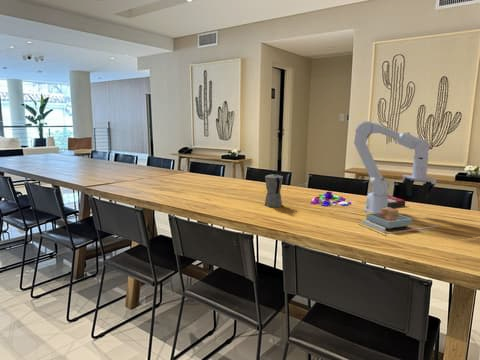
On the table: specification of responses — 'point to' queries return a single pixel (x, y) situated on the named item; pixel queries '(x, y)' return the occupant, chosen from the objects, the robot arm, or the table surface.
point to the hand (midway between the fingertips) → (417, 197)
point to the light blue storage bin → (389, 224)
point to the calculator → (395, 202)
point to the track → (383, 229)
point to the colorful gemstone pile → (329, 200)
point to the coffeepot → (273, 190)
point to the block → (389, 214)
